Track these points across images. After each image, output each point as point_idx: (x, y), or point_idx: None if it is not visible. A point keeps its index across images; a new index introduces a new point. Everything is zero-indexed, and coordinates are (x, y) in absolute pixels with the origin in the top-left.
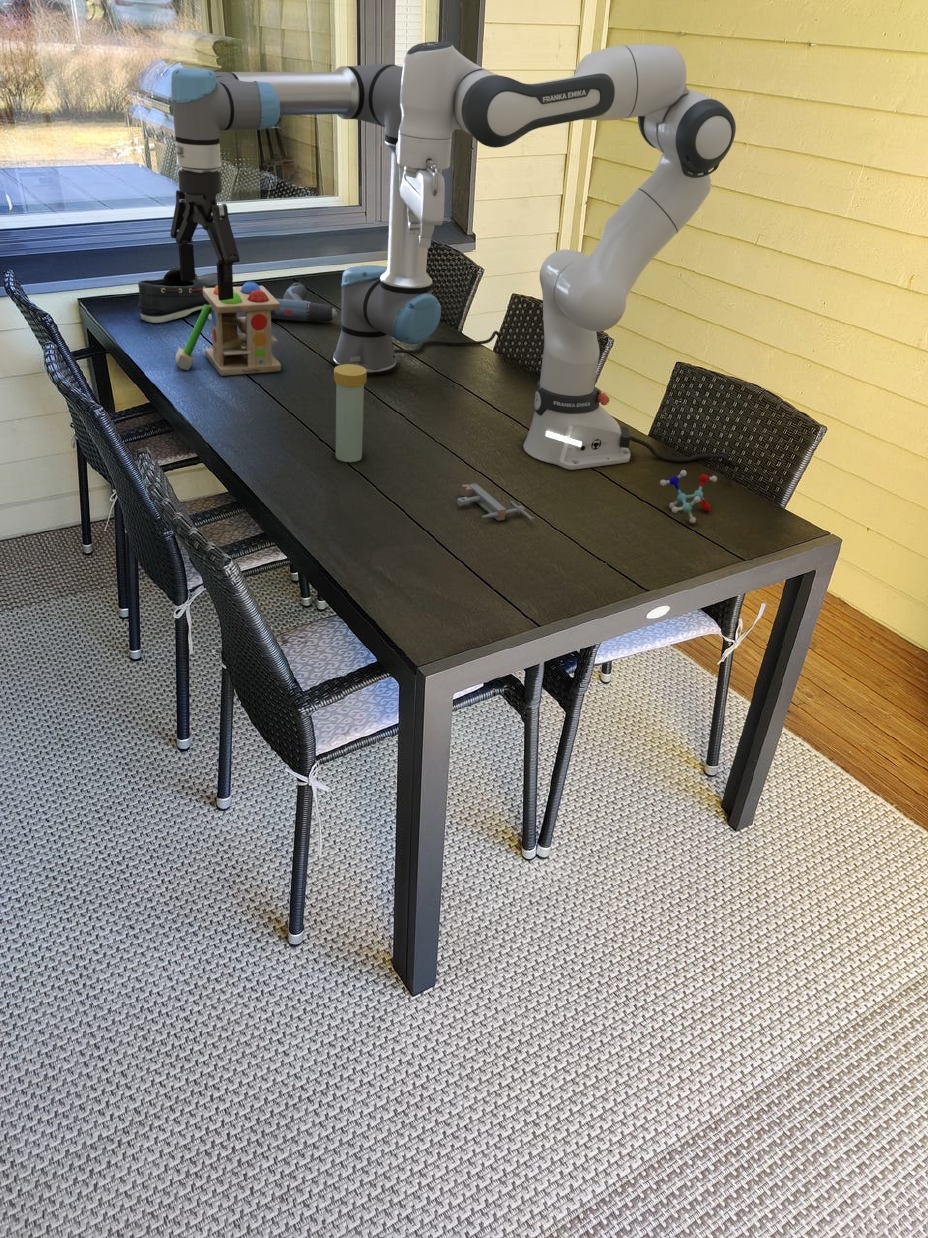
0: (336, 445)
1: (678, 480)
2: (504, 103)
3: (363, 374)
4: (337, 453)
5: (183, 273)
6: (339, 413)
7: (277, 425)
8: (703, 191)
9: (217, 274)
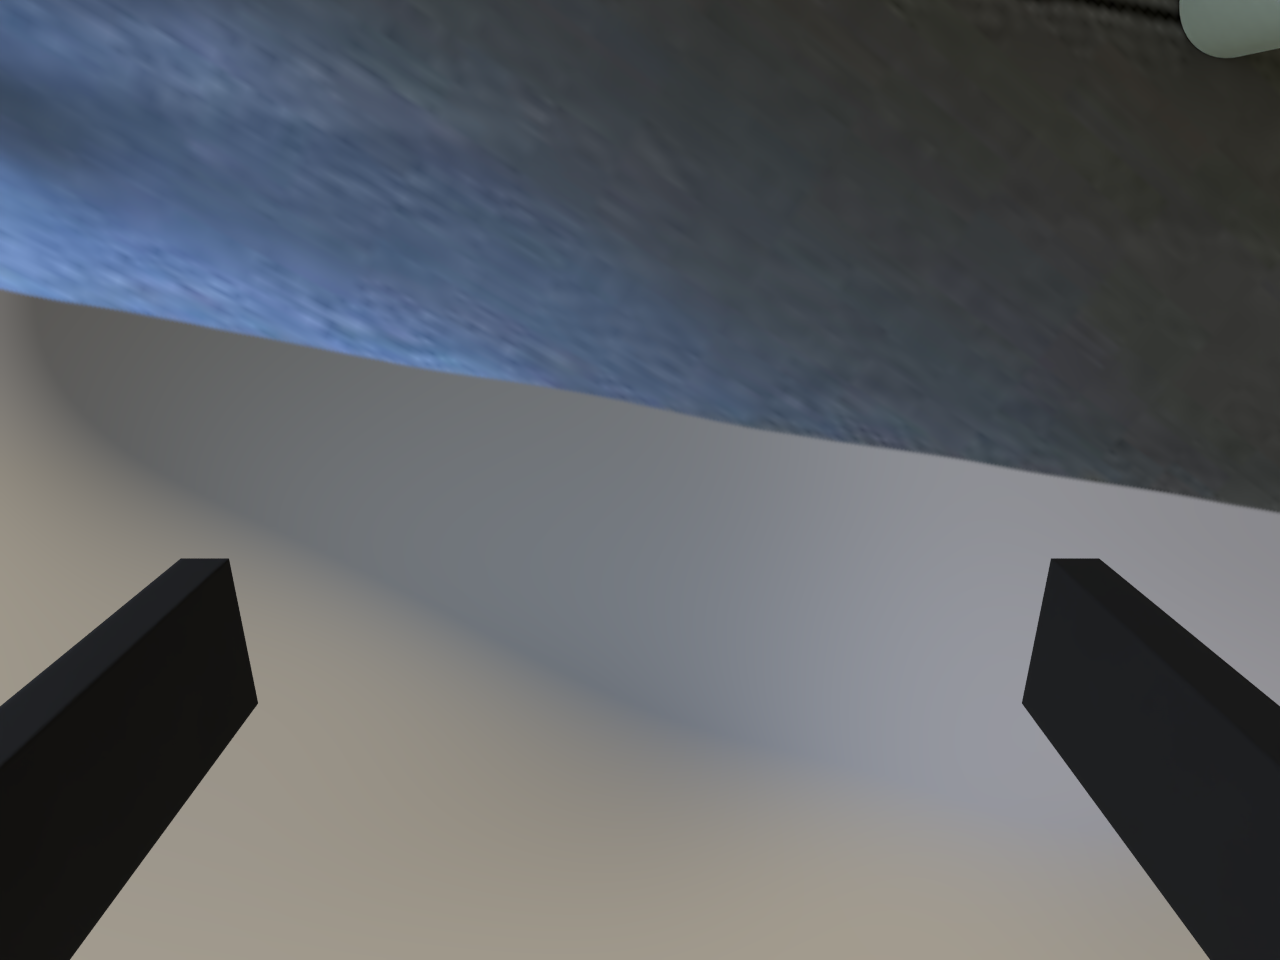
0: (1252, 45)
1: None
2: None
3: None
4: (1237, 53)
5: (216, 751)
6: None
7: (768, 77)
8: None
9: (1211, 947)
